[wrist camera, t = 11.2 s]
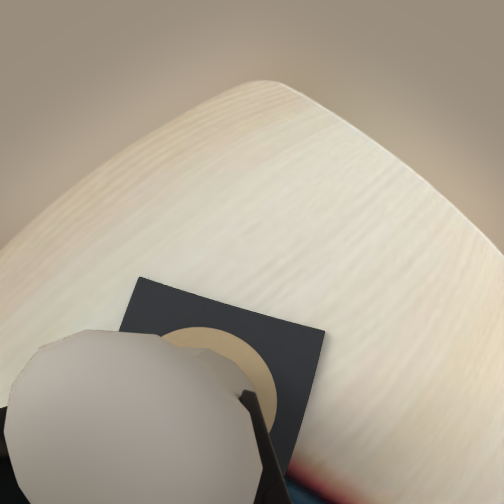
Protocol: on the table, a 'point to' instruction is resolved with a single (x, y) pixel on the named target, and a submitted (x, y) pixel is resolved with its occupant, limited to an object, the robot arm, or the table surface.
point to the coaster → (238, 350)
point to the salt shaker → (131, 424)
